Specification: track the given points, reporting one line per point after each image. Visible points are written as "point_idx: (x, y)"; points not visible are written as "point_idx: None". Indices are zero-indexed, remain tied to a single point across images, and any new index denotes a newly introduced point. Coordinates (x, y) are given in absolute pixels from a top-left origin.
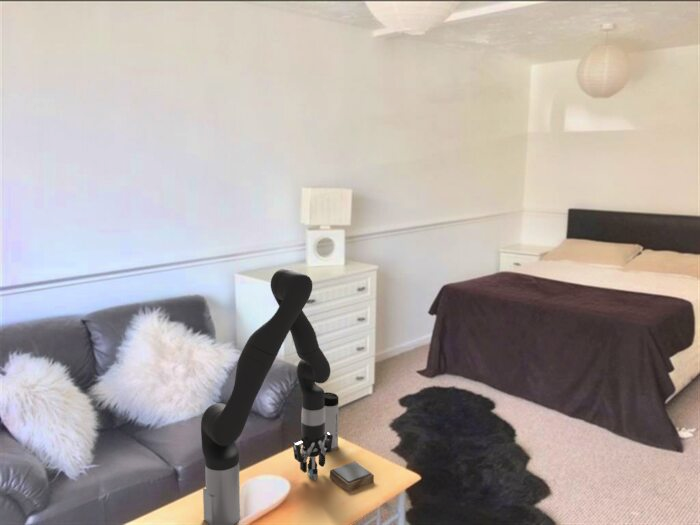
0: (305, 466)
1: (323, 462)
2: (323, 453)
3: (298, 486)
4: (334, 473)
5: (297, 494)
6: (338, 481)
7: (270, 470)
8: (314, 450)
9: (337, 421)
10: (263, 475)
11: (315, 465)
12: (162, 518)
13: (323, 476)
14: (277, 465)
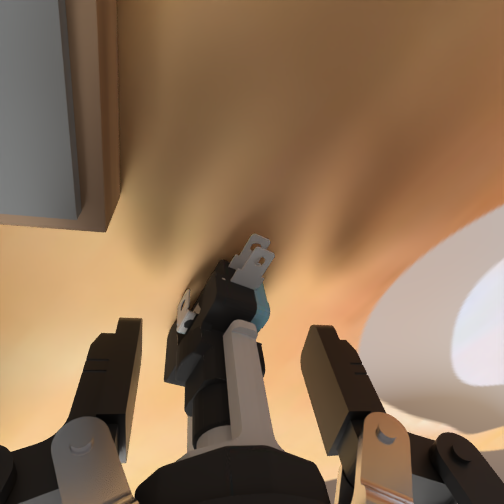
0: (347, 370)
1: (120, 347)
2: (102, 455)
3: (397, 251)
4: (96, 149)
5: (491, 175)
6: (111, 34)
7: None
8: None
9: None
10: (414, 421)
11: (209, 351)
12: None
13: (157, 242)
14: (298, 452)
